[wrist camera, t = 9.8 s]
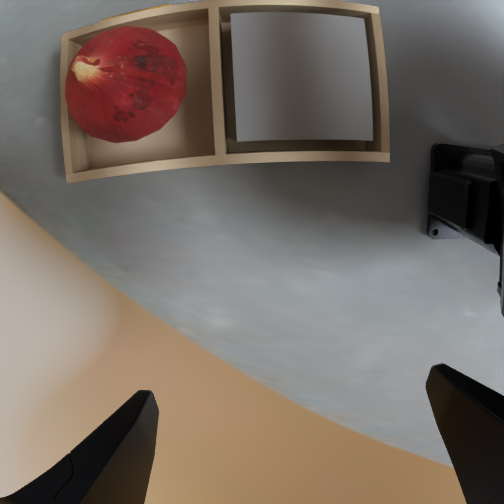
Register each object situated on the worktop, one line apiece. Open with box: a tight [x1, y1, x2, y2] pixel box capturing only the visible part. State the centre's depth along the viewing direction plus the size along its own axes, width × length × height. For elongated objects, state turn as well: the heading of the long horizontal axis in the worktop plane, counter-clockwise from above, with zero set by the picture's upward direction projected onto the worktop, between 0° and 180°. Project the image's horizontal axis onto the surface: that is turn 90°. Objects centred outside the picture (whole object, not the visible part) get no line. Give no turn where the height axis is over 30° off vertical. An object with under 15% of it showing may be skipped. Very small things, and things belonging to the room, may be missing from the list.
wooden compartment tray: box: [60, 0, 390, 184], centre depth 15 cm, size 18×9×3 cm, turn 93°
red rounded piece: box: [65, 26, 187, 143], centre depth 12 cm, size 6×6×8 cm
